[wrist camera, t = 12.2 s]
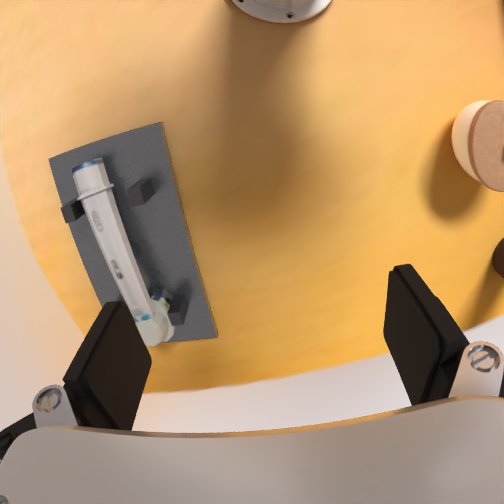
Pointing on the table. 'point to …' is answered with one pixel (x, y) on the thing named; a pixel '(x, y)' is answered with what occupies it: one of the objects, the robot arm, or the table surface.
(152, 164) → the peg stand
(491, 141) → the lidded jar
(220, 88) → the table surface
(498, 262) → the wine bottle
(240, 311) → the table surface
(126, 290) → the white handheld device
